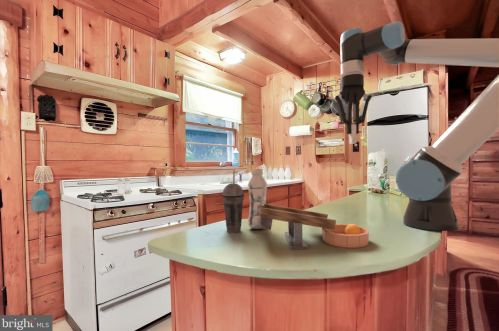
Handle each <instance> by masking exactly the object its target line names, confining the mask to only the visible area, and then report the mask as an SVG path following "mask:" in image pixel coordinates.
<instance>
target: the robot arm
mask: <svg viewBox="0 0 499 331" xmlns="http://www.w3.org/2000/svg"><path fill="white" fill-rule="evenodd" d="M405 36H406V34H405V26H404V24H403V22H402V21H394V22H389V23H387V24H384V25H381V26H379V27H376V28H374V29H370V30H367V31H365V32H364V30H363V29H362V28H361V27H354V28H349V29H347V30H345V31H344V32H342V34H341V35H340V44H339V49H340V50H339V51H340V53H339V54H340V91H339V94H338V95H335V96H334V97H333V98H332V101H334V103H335V104H336V109H337V112H338V116H339V120H340V123H341V124H343V125H344V126H346V130H345V131H346V135H348V144H349V145H353V144H357V135H358V134H359V133H360V124H362V123H364V122H365V120H366V116H367V111H368V107H369V103H370V101H371V99H372V98H373V97H372V95H371V94H367V93H366V90H365V89H364V88H365V78H364V77H365V76H364V74H365V71H364V70H365V69H364V65H365V64H364V59H365V57H368V56H372V55H375V54H378V55H379V56H380V57H381V58H382V59H383V61H384V62H385V63H387V64H389V65H392V66H398V65H400V64H404V63H405V64H421V65H422V64H425V65H443V66H445V65H446V66H464V67H465V66H467V67H469V66H470V67H485V68H486V67H487V68H489V67H490V68H499V38H498V37H497V38H420V39H419V38H416V39H415V38H413V39H410V38H409V39H405V38H406V37H405ZM361 99H362V104H361V107H360V103H361ZM342 100H343V101H344V103H345V104H344V105H343V102H342ZM344 107H345V108H344ZM360 108H361V109H360ZM498 130H499V74H498V75H497V76H495V78H494V79H493V80H492V81H491V82H490V83H489V84H488V86H486V88H485V89H483V91H482V92H481V93H480V94H479V95H477V97H476V98H475V99H474V100H473V101H472V102H471V104H470V105H469V106H468V107H466V109H465V110H464V111H463V112H462V113H461V114H460V115H459V116H458V117H457V118H456V119H455V120H454V122H453V123H452V124H450V125H449V127H448V128H447V129H446V130H445V131H444V132H443V133H442V134H441V135H440V136H439V137H438V138H437V140H436V141H434V143H433V144H432V145H430V146H422V147H421V148H420V149H419V150H418V151H417V152H416V154H414V156H412V157H410V158H409V159H408V161H406V162H404V163H403V164H402V165H400V167H398V169H397V172H396V174H395V183H396V187H397V188H398V190H399V191H400V193H401V194H403V195H404V196H405V197H407V198H408V204H407V206H406V209H405V212H404V214H403V217H402V218H403V219H402V222H403V224H404V225H406V226H409V227H411V228H415V229H420V230H427V231H435V232H436V231H437V232H453V231H457V230H459V219H458V218H457V214H456V212H455V210H454V208H453V205H452V183H453V182H454V181H455V180H456V179H457V178H458V177H459V176H460V175H461V174H463V167H462V165H463V164H464V163H465V162H466V161H467V160H468V159H469V158H470V157H471V156H472V155H473V154H474V153H475V152H476V151H477V150H479V149H480V148H481V146H483V145H484V144H485V142H487V141H488V140H489V139H490V138H491V137H492V136H493V135H494V134H495V133H496V132H498Z"/></svg>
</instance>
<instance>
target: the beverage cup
mask: <svg viewBox="0 0 499 331" xmlns="http://www.w3.org/2000/svg"><path fill="white" fill-rule="evenodd" d="M235 174H236V170H235V169H233V170H232V175H233V176H232V182H231V183H228V184H226V186H225V187H224V188H223V190H222V195H221V196H222V201H223V204H224V206H223V207H224V216H225V226H226V231H227V232H228V233H238V232H241V230H242V229H241V228H242V220H243V208H244V206H243V204H244V200H245V199H244V198H245V193H244V189H243V187H242V186H241V185H240V184H238V183H236V182H235V180H236V179H235V178H236V177H235V176H236V175H235Z"/></svg>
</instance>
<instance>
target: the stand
mask: <svg viewBox="0 0 499 331" xmlns="http://www.w3.org/2000/svg"><path fill="white" fill-rule="evenodd" d="M287 226H288V229H287V231H285V232H284V236H285V238H286V240H287V243H288V245H289V247H290V250H307V249H308V245H307V244H306V242H305V240H304V239H303V224H302V222H294V223H291V222H287Z"/></svg>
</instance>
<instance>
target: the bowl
mask: <svg viewBox="0 0 499 331" xmlns="http://www.w3.org/2000/svg"><path fill="white" fill-rule="evenodd" d="M348 225H349V224H346V223H336V224H335V230H333V229H327V228H321V238H322V241H323V243H326V244H327V245H331V246H333V247H339V248H343V249H344V248H345V249H357V248H364V247H367V246H368V245H369V241H370V230H369V229H367V228H365V227H362V226H360V225H357V226H358V227H359V228H360V231H361V233H360V234H358V235H346V233H345V229H346V227H347V226H348Z"/></svg>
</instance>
